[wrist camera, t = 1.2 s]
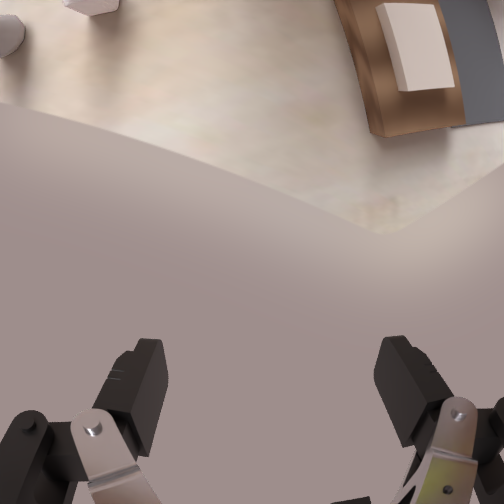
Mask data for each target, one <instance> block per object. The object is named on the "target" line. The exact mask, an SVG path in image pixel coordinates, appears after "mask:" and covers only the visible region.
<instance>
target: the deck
mask: <svg viewBox="0 0 504 504" xmlns="http://www.w3.org/2000/svg"><path fill="white" fill-rule="evenodd" d="M334 2H335V5H336V8H337V11H338V13H339V16H340V19H341V22H342V25H343V28H344V31H345V35H346V38H347V41H348V44H349V48H350V51H351V54H352V58H353V61H354V65H355V69H356V72H357V76H358V80H359V84H360V88H361V92H362V96H363V101H364V105H365V109H366V114H367V119H368V123H369V128H370V133H373V134H376V135H379V136H382V137H385V138H388V137H393V136H398V135H403V134H408V133H414V132H420V131H425V130H431V129H438V128H444V127H450V126H457V125H464V124H466V119H465V111H464V104H463V98H462V92H461V86H460V81H459V76H458V71H457V66H456V62H455V57H454V53H453V49H452V45H451V41H450V37H449V34H448V30H447V27H446V23H445V20H444V17H443V14H442V11H441V8H440V5H439V2H438V0H334ZM383 3H415V4H432V5H434V8H435V11H436V14H437V17H438V20H439V23H440V27H441V30H442V33H443V37H444V41H445V45H446V48H447V53H448V57H449V61H450V65H451V70H452V75H453V80H454V85H455V87H448V88H436V89H425V90H416V91H398V86H397V82H396V77H395V73H394V69H393V65H392V61H391V57H390V54H389V50H388V46H387V43H386V40H385V36H384V33H383V30H382V26H381V23H380V20H379V17H378V14H377V11H376V8H375V7H377V6H379V5H381V4H383Z"/></svg>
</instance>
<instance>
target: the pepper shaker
mask: <svg viewBox="0 0 504 504" xmlns="http://www.w3.org/2000/svg"><path fill="white" fill-rule="evenodd" d="M63 4H64V6H65V7H68V8H70V9H73V10H75V11H77V12H80V13H82V14H84V15H87V16H93V15H97V14H102V13H107V12H112V11H115V10H117V9H118V6H119V0H63Z"/></svg>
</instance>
